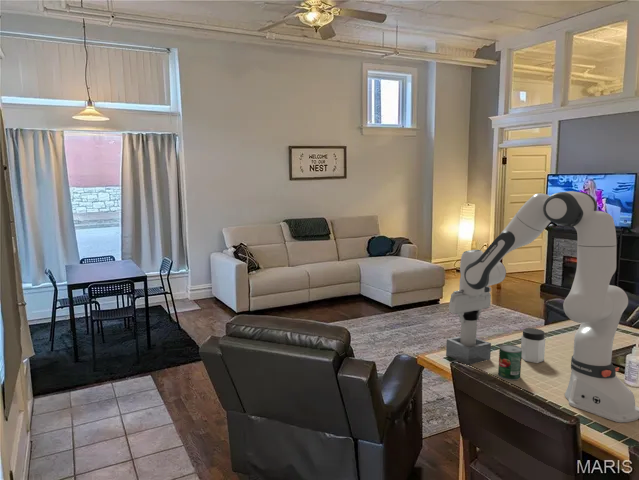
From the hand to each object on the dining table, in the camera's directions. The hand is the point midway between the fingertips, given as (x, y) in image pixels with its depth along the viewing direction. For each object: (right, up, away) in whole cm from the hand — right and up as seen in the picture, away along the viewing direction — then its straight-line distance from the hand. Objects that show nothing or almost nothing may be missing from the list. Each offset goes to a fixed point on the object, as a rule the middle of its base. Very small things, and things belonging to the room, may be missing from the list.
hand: (469, 321), depth 194 cm
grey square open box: (0, -16, +2) cm, 16 cm away
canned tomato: (+10, -18, -16) cm, 26 cm away
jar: (+26, -16, 0) cm, 31 cm away
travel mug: (0, -16, +2) cm, 16 cm away
